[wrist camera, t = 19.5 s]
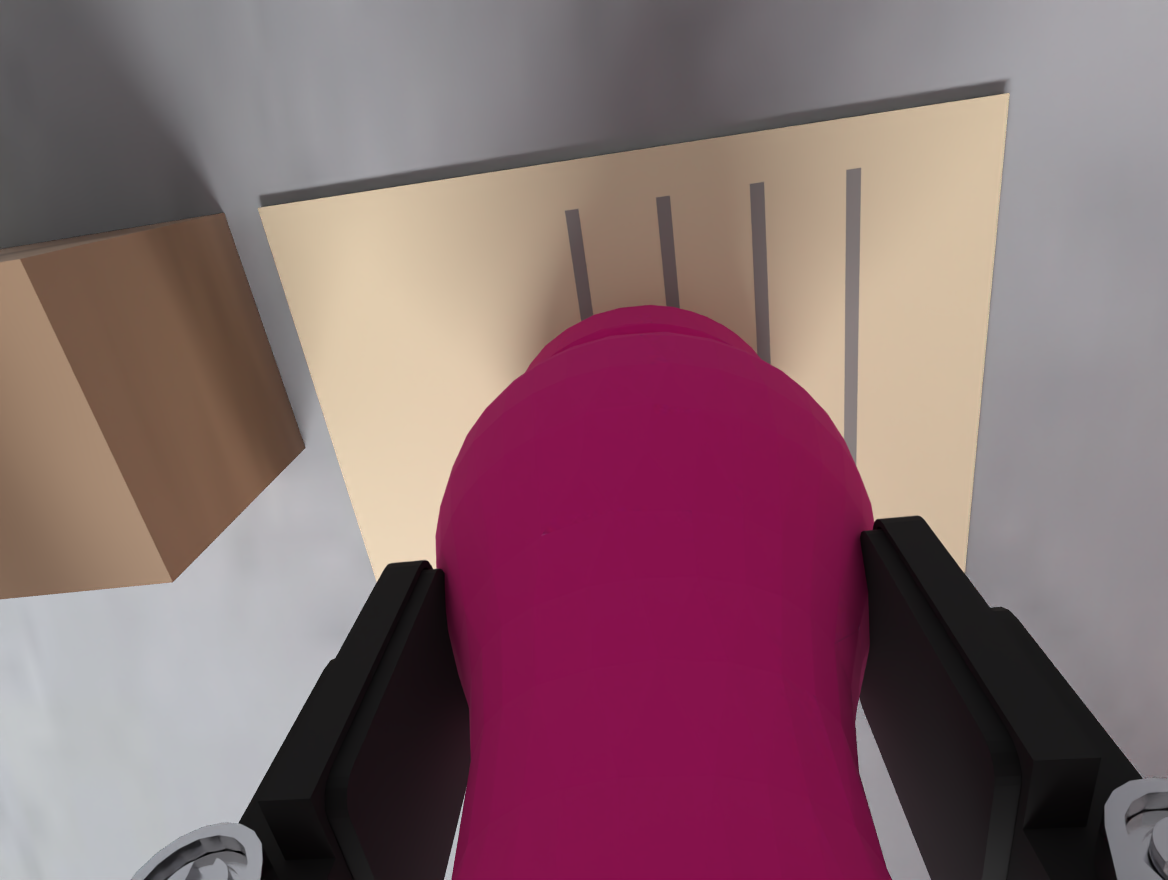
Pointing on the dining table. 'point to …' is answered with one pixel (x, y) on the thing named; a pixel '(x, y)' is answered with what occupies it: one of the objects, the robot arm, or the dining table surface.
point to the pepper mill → (658, 615)
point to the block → (131, 405)
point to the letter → (664, 294)
